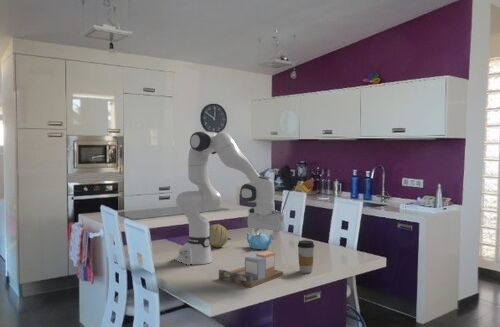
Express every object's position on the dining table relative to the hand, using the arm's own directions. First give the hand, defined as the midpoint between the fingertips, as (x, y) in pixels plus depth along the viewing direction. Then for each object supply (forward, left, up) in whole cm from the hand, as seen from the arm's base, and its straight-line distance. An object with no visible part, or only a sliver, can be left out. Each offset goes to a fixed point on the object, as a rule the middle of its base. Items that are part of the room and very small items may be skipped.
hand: (265, 238), depth 204 cm
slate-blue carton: (+1, -10, -16) cm, 19 cm away
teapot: (-40, +45, -18) cm, 63 cm away
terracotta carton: (0, 0, -16) cm, 16 cm away
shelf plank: (-4, -6, -18) cm, 20 cm away
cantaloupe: (-63, +31, -18) cm, 73 cm away
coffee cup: (+11, +19, -18) cm, 29 cm away
